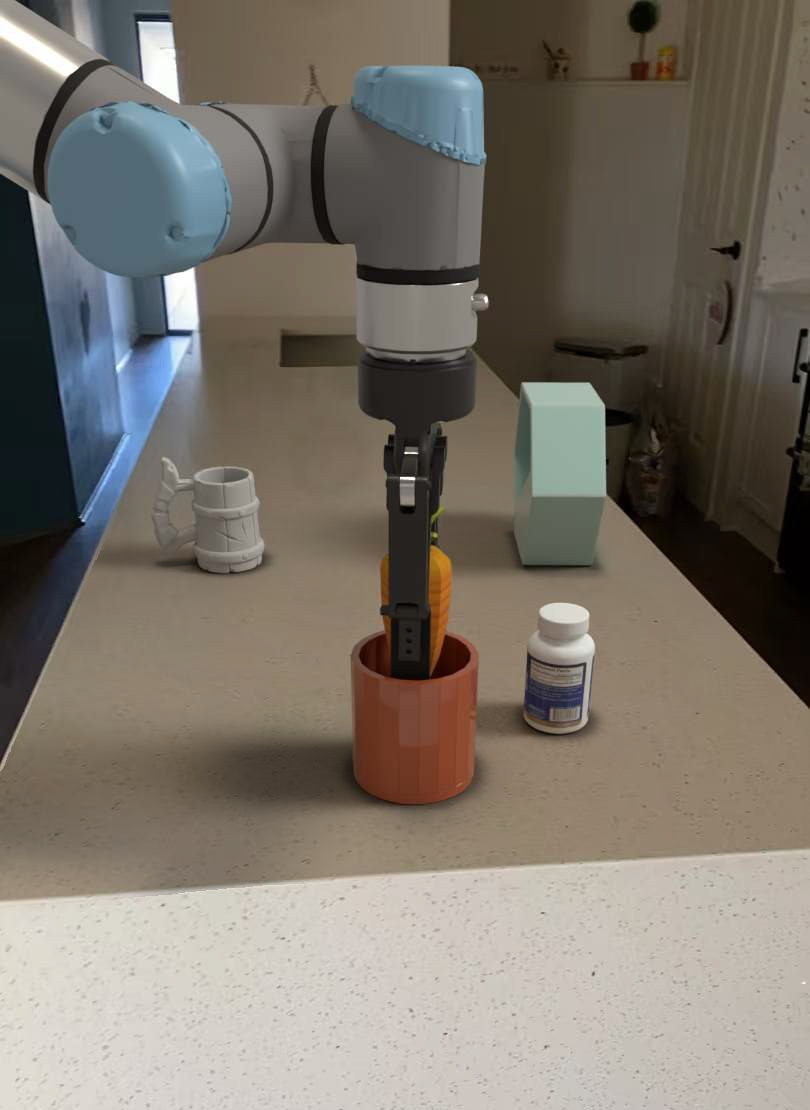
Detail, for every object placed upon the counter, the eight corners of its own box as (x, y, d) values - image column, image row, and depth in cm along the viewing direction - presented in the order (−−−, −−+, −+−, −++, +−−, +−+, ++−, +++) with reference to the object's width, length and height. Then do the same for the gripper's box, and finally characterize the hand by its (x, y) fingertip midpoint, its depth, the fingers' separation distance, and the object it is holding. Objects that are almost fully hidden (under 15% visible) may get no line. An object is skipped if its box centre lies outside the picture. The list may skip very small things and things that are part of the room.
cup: (345, 801, 80) (342, 680, 75) (362, 736, 88) (360, 624, 83) (471, 808, 79) (476, 687, 74) (476, 742, 87) (480, 629, 82)
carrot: (382, 677, 83) (381, 486, 75) (447, 679, 83) (453, 487, 75) (378, 710, 78) (377, 510, 71) (448, 711, 78) (454, 511, 71)
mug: (267, 572, 118) (261, 463, 112) (156, 579, 116) (144, 469, 111) (262, 546, 125) (256, 443, 119) (157, 553, 123) (145, 448, 117)
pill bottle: (542, 697, 94) (550, 593, 89) (599, 715, 91) (609, 609, 86) (510, 723, 90) (516, 615, 85) (568, 742, 87) (578, 632, 83)
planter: (514, 579, 128) (512, 408, 130) (580, 579, 128) (577, 408, 130) (532, 549, 112) (529, 352, 113) (607, 548, 112) (604, 352, 113)
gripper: (471, 383, 60) (458, 742, 72) (481, 324, 76) (470, 627, 87) (336, 379, 61) (345, 736, 72) (374, 321, 77) (377, 622, 88)
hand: (413, 676), depth 80 cm, fingers closed on carrot, 5 cm apart
